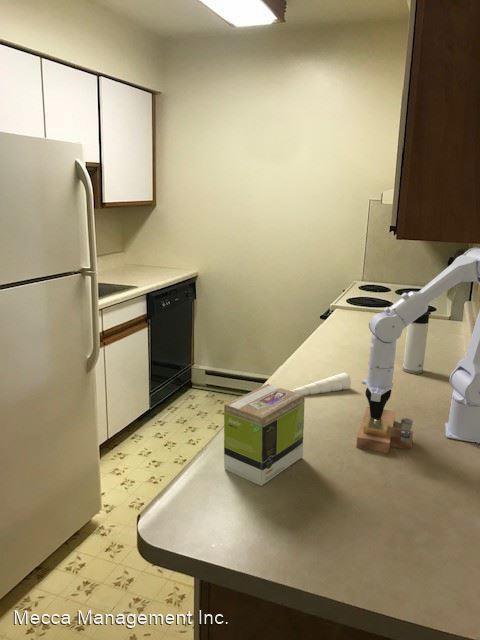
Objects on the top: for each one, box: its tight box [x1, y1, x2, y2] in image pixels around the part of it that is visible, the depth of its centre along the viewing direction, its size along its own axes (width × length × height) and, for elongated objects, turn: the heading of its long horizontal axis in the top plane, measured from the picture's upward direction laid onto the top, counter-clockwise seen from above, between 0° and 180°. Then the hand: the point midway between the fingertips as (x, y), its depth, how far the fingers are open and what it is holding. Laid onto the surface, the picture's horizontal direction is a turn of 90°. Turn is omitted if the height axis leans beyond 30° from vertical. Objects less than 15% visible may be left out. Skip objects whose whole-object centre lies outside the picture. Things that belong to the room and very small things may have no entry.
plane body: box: [355, 406, 414, 454], centre depth 118 cm, size 12×18×4 cm, turn 159°
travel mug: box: [402, 310, 432, 375], centre depth 161 cm, size 6×7×20 cm
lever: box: [400, 417, 413, 442], centre depth 110 cm, size 10×2×2 cm, turn 160°
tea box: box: [223, 383, 306, 487], centre depth 103 cm, size 15×10×15 cm, turn 141°
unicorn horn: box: [290, 372, 352, 396], centre depth 143 cm, size 5×24×5 cm, turn 111°
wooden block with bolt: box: [363, 416, 389, 437], centre depth 115 cm, size 5×6×2 cm
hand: (375, 418), depth 119 cm, fingers closed
